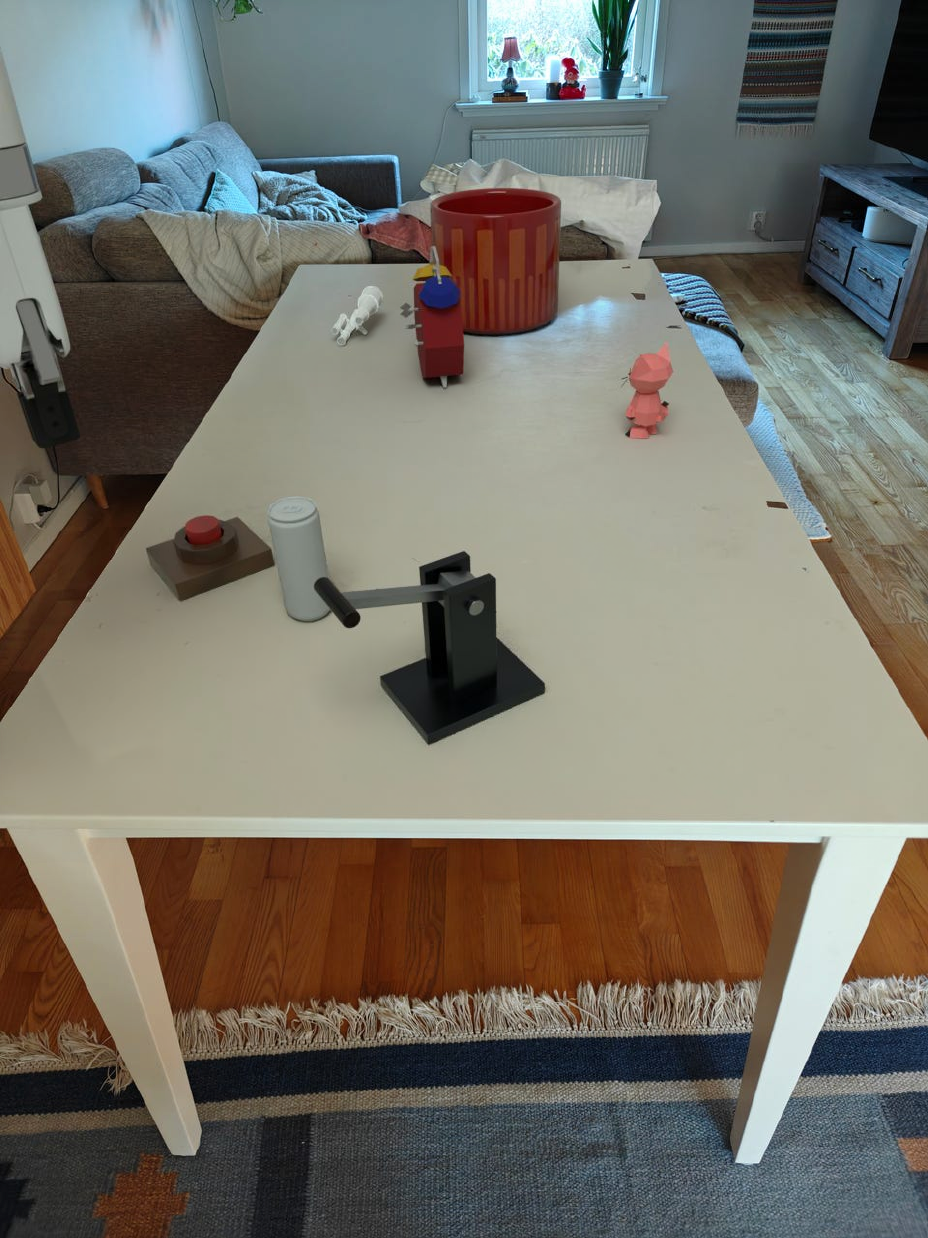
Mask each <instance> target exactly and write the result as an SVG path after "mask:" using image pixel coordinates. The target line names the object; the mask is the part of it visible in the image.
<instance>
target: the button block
mask: <svg viewBox="0 0 928 1238" xmlns="http://www.w3.org/2000/svg"><path fill="white" fill-rule="evenodd" d="M217 519H218V520H219V523H220V528H221V532H222V537H221V538H220V539H218V540H217V541H215V542H212V543H209V544H205V545H194V544H191V543H189V541H188V537H187V533H186V530H185V525H184V526H183V527H182V528H180V529H179V530H178V531H176V532H175V533H174V538H171V539H168V540H166V541H163V542H160V543H157V544H154V545H151V546H148V547H146V548H145V552H146V555H147V558H148V561H149V564H150V566H151V567H152V569H153V570H154V571H155V572H156V574H157V575H158V576H159V578H161V580H162V581H163V582H164V584H165V585H166V586H167V587H168V588H169V590H170V591H171V592H172V593H173V595H174V596H175V597H176V598H177V600H178V601H179V602H183V601H185V600H187V599H190V598H193V597H195V596H197V595H198V596H199V595H200V594H203V593H206V592H208V591H212V590H214V589H216V588H219V587H221V586H223V585H227V584H229V583H232V582H235V581H237V580H240V579H242V578H245V577H248V576H250V575H253V574H255V573H258V572H261V571H264V570H265V569H269V568H272V567H274V566H275V562H274V556H273V552H272V550H273V549H272V548H271V547H270V546H269V545H268V544H267V542H265V541H264V540H263V539H261V537H259V535H258V534H256V533H255V531H253V530H252V529H251V527H249V526H248V525H247V524H246V523H245V522H244V521H243V520H242V519H241V518H240V517H239V516H235V517H232V518H230V519H227V520H222V519H219V518H217Z"/></svg>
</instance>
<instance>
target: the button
mask: <svg viewBox="0 0 928 1238" xmlns="http://www.w3.org/2000/svg"><path fill="white" fill-rule="evenodd" d="M218 519H219V518H218V517H216V516H213V515H209V514H208V515H207V514H206V515H199V516H195V517H192V518H190V519H189V520H188V521H186V523H185V524H184V526H185V530H186V533H187V537H188V541H189V543H191V544H194V545H205V544H209V543H212V542H215V541H217V540H218V539H220V538H221V537H222V532H221V528H220V523H219V520H220V519H219V520H218Z"/></svg>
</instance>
